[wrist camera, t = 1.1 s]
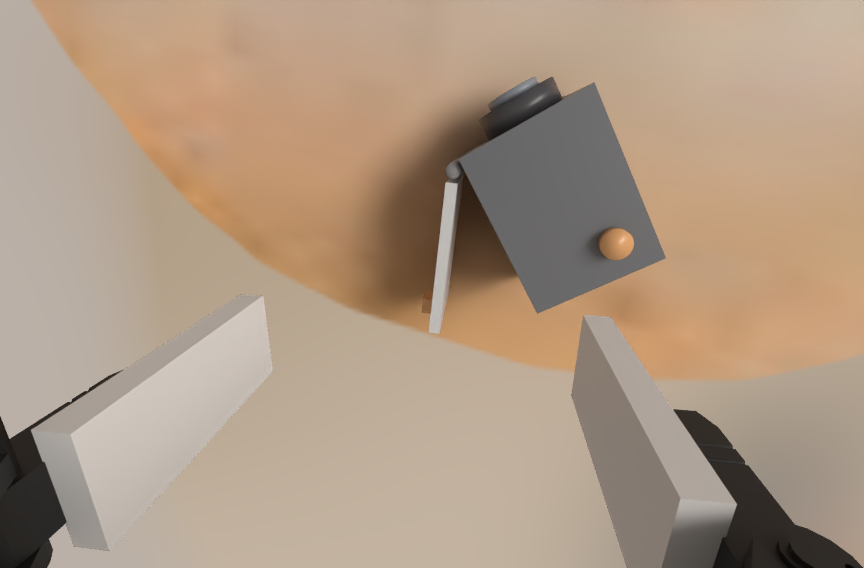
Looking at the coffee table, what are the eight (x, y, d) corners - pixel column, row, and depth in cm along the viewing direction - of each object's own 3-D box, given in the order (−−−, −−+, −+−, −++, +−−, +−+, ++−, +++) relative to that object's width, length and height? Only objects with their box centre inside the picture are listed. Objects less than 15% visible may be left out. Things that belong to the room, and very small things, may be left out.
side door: (444, 154, 36) (432, 160, 28) (467, 157, 36) (461, 163, 28) (429, 291, 40) (415, 330, 32) (449, 294, 40) (440, 333, 32)
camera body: (452, 128, 35) (440, 126, 26) (555, 68, 33) (582, 42, 23) (526, 274, 38) (538, 318, 29) (623, 229, 36) (670, 261, 27)
